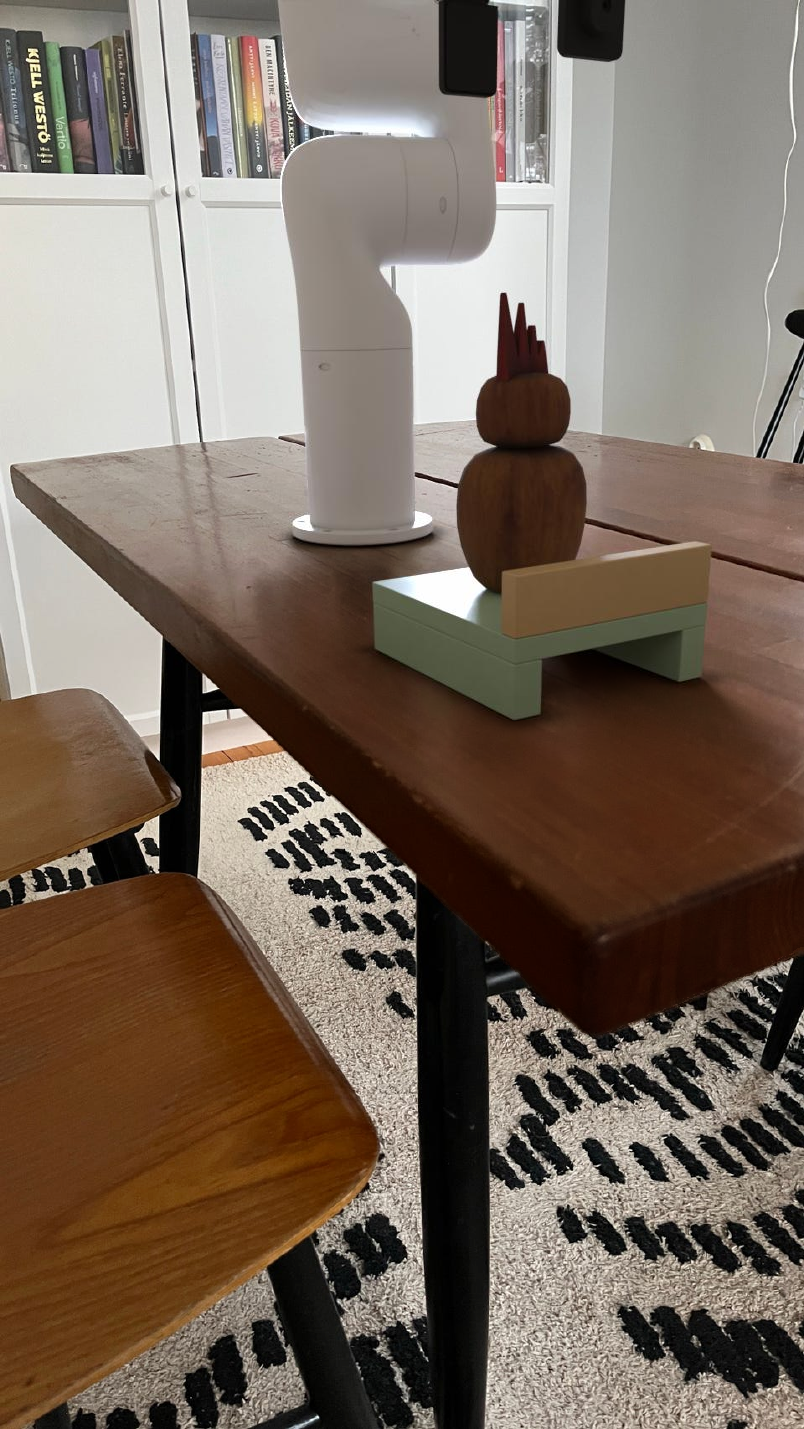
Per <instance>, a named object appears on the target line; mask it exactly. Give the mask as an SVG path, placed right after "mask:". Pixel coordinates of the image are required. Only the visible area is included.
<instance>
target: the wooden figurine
mask: <svg viewBox="0 0 804 1429" xmlns="http://www.w3.org/2000/svg"><path fill="white" fill-rule="evenodd" d="M498 309H499V310H498V328H497V330H498V331H497V347H496V348H497V349H496V374H495V375H494V376H491V377H490V378H488V379H486V380H485V382H484V383H483V384H482V386H481V387H480V390H479V393H478V395H477V399H476V404H475V405H476V406H475V421H476V422H475V424H476V428H477V429H476V430H477V432H478V434H479V437H480V438H481V439H482V441H483V442H484V443H486V444H488V445H491V446H492V447H488V448H485V449H484V450H482V451H480V452H478V453H476V454H475V453H474V455H473V456H472V458H471V459H470V460H469V461H468V463H467V464H466V465H465V466H464V468H463V470H462V473H461V476H460V477H459V481H458V484H457V492H456V493H457V494H456V505H455V507H456V508H455V509H456V527H457V528H456V529H457V533H458V538H459V543H460V544H459V545H460V547H461V550H462V553H463V557H464V558H465V562H466V564H467V566H468V567H469V568H470V570H471V572H472V575H473V577H474V578H475V579H476V580H477V581H478V582H479V583H480V584H481V585H482V586H483V587H485V588H487V589H489V590H492V591H496V592H501V593H502V572H503V571H507V570H514V569H520V568H527V567H533V566H540V565H546V564H552V563H559V562H565V561H572V560H577V557H578V553H579V551H580V547H581V546H582V545H581V544H582V540H583V534H584V530H585V525H586V516H587V506H588V504H587V503H588V502H587V501H588V499H587V498H588V497H587V496H588V495H587V494H588V492H587V490H588V489H587V481H586V480H587V479H586V475H585V471H584V468H583V466H582V464H581V463H580V461H579V460H578V457H576V455H575V453H573V452H572V451H571V450H569V449H566V448H564V447H563V446H561V445H555V444H556V443H559V442H561V440H562V439H563V438H564V437H565V435H566V434H567V432H568V429H569V427H570V426H569V425H570V421H571V415H572V414H571V413H572V410H571V409H572V406H571V404H572V402H571V401H572V400H571V395H570V391H569V388H568V386H567V384H566V383H565V382H564V380H563V379H562V378H561V377H558V376H556V375H553V374H552V373H549V364H548V357H547V356H548V355H547V349H546V342H545V340H544V339H543V340H542V339H541V340H540V339H538V338H537V336H538V335H537V326H536V325H535V324H528V325H527V317H526V307H525V303H524V302H518V303H517V308H516V315H515V320H514V327H513V321H512V315H511V310H510V304H509V298H508V293H507V292H500V294H499V308H498Z"/></svg>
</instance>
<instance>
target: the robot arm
mask: <svg viewBox="0 0 804 1429" xmlns="http://www.w3.org/2000/svg"><path fill="white" fill-rule="evenodd" d="M490 2H491V0H277V7H278V14H279V25H280V34H281V43H282V52H283V53H282V54H283V62H284V70H285V76H286V83H287V87H288V92H289V96H290V100H291V103H292V106H293V109H294V110H295V112H296V114H297V116H298V117H299V118H300V119H301V120H302V121H303V122H304V123H305V124H307V125H308V126H310V127H313V128H316V129H320V130H325V131H333V132H346V133H347V132H348V133H375V134H330V135H324V136H318V137H315V138H312V139H309V140H307V141H305V142H302V143H301V144H300V145H298V146H296V147H295V148H294V149H293V150H292V151H291V152H290V153H289V155H288V156H287V158H286V160H285V162H284V164H283V167H282V170H281V175H280V187H279V188H280V203H281V208H282V209H281V210H282V215H283V216H282V217H283V221H284V227H285V233H286V236H287V242H288V247H289V252H290V258H291V264H292V270H293V277H294V284H295V294H296V305H297V317H298V335H299V349H300V370H301V372H300V373H301V388H302V390H301V391H302V406H303V407H302V409H303V427H304V445H305V447H304V448H305V463H306V464H305V465H306V466H305V467H306V482H307V485H306V486H305V487H304V491H303V492H304V496H305V497H306V498H307V502H308V504H307V505H308V514H306V515H303V516H301V517H297V518H296V519H295V520H293V521H292V524H291V530H292V536H294V537H295V538H297V539H299V540H300V541H303V542H309V543H314V544H320V545H331V546H373V545H374V546H375V545H387V544H388V545H389V544H395V543H396V544H397V543H403V542H409V541H413V540H417V539H421V538H423V537H426V536H428V535H430V534H432V532H433V531H434V519H433V518H432V516H430V515H429V514H427V513H423V512H420V511H416V467H415V466H416V464H415V463H416V462H415V460H416V458H415V457H416V455H415V454H416V453H415V408H414V407H415V404H414V403H415V402H414V401H415V400H414V398H415V397H414V394H415V393H414V349H413V348H414V346H413V328H412V326H413V325H412V323H411V318H410V315H409V312H408V311H407V308H406V307H405V304H404V302H403V301H402V299H401V298H400V296H399V295H398V294H397V293H396V291H395V290H394V288H393V287H392V286H391V285H390V283H389V282H388V281H387V279H386V278H385V277H384V274H383V273H382V272H381V269H383V268H389V267H390V268H391V267H395V266H452V265H463V264H466V263H467V264H468V263H470V262H473V261H474V260H477V259H478V258H480V257H482V255H483V254H484V253H485V252H486V251H487V249H488V248H489V246H490V244H491V241H492V239H493V236H494V232H495V226H496V223H497V222H496V221H497V220H496V219H497V183H496V171H495V161H494V160H495V159H494V151H493V140H492V130H491V119H490V109H489V99H488V98H491V97H493V96H495V95H496V94H497V90H498V60H499V59H498V57H499V56H498V53H499V52H498V48H499V47H498V46H499V45H498V44H499V40H498V39H499V5H493V4H490ZM625 14H626V0H557V26H556V28H557V30H556V32H557V33H556V49H557V50H556V51H557V52H558V54H559V55H560V56H561V57H562V58H567V59H576V60H584V61H594V62H604V63H610V62H614V61H617V60H619V59H620V58H621V57H622V55H623V52H624V37H625V36H624V33H625V16H626V15H625ZM376 133H377V134H376ZM378 133H380V134H378ZM381 133H382V134H381ZM392 134H411V135H412V134H413V135H415V136H395V135H392ZM416 135H417V136H416Z"/></svg>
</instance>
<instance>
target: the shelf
mask: <svg viewBox="0 0 804 1429" xmlns="http://www.w3.org/2000/svg"><path fill="white" fill-rule="evenodd" d="M712 548H713V546H712V544H709V543H707V542H700V541H697V540H695V541H688V542H682V543H675V544H669V545H663V546H656V547H649V548H643V549H635V550H631V551H630V550H629V551H624V552H617V553H612V554H605V555H599V556H591V557H585V558H578V559H576V560H572V561H565V562H559V563H552V564H546V565H540V566H533V567H527V568H520V569H514V570H507V571H503V572H502V593H501V592H496V591H492V590H489V589H487V588H485V587H483V586H482V585H481V584H480V583H479V582H478V581H477V580H476V579H475V578H474V577H473V575H472V572H471V570H470V568H469V566H468V567H463V568H456V569H449V570H442V571H436V572H429V573H422V574H417V575H410V576H403V577H396V578H389V579H383V580H377V581H372V583H371V584H372V602H373V604H372V605H373V606H372V607H373V634H374V635H373V636H374V638H373V639H374V649H375V650H376V651H379V652H380V653H382V654H384V655H385V656H388V657H390V658H392V659H393V660H396V661H397V662H399V663H401V664H403V665H406V666H408V667H409V668H411V669H413V670H415V671H417V672H419V673H421V674H423V675H425V676H427V677H429V678H430V679H433V680H434V681H437V682H438V683H440V684H442V685H444V686H446V687H448V688H450V689H452V690H453V691H456V692H458V693H459V694H461V695H463V696H465V697H468V698H469V699H471V700H473V701H475V702H477V703H479V704H481V705H483V706H485V707H487V708H489V709H491V710H493V711H495V712H497V713H498V714H500V715H503V716H504V717H507V718H509V719H510V720H511V721H519V720H522V719H526V718H530V717H534V716H535V717H536V716H540V715H541V712H542V710H541V709H542V674H543V660H544V659H548V658H553V657H557V656H562V655H569V654H572V653H577V652H583V651H587V650H594V651H596V652H599V653H602V654H604V655H607V656H610V657H612V658H615V659H616V660H620V661H622V662H625V663H628V664H631V665H633V666H636V667H638V668H641V669H643V670H647V671H648V672H651V673H655V674H657V675H660V676H662V677H665V678H668V679H670V680H673V681H675V682H678V683H681V682H685V681H689V680H694V679H697V678H701V677H702V676H703V664H704V663H703V662H704V651H705V638H706V624H707V613H708V597H709V588H710V587H709V585H710V574H711V563H712V562H711V561H712V551H713V550H712ZM542 659H543V660H542Z"/></svg>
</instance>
